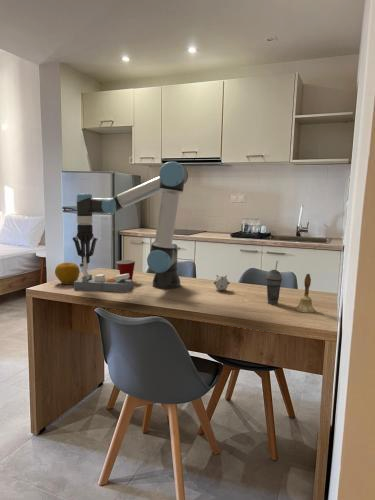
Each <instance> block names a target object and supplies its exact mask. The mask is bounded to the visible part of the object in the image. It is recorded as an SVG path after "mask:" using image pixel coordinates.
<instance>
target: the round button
mask: <svg viewBox="0 0 375 500" xmlns="http://www.w3.org/2000/svg"><path fill="white" fill-rule="evenodd" d="M106 279H107V282H115V276H114V277H113V276H110V277H107V278H106Z"/></svg>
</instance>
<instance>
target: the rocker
mask: <svg viewBox="0 0 375 500" xmlns="http://www.w3.org/2000/svg"><path fill="white" fill-rule="evenodd" d="M129 277H130V276H129V273H127V274H122V275H120V274H117V275H116V276H114V278H115V280H116V281H117V280H122V279H128V278H129Z"/></svg>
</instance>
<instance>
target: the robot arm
mask: <svg viewBox="0 0 375 500" xmlns="http://www.w3.org/2000/svg"><path fill="white" fill-rule="evenodd" d="M188 177H189V172H188V170H187V168H186V166H184V165H183V164H181V163H180V162H178V161H172V160H171V161H167V162H165V163H164V164H163V165H162V166H161V167H160V168H159V173H158V176H156V177H155V178H152V179H150V180H148V181H145V182H143V183H141V184H139V185H136V186H135V187H131V188H130V189H127V190H126V191H123V192H121V193H119V194H116V195H114V196H112V197H93V195H92V193H78V194H77V195H76V223H77V227H76V228H77V229H76V230H77V232H76V233H77V234H76V236H73V237H72V240H73V242H74V246H75V249H76V253H77V255H78V257H79V256H80V257H81V263H83V265H84V270H87V271H88V269H89V264H90V262H91V259H90V258H91V257H92V256H94V252H95V248H96V243H97V241H98V240H99V239H98V237H96V236H94V233H93V232H94V231H93V214H95V213H96V214H98V213H99V214H114V213H116V212H119V211H120V210H122V209H124V208H126V207H129V206H131V205H133V204H136V203H138V202H140V201H142V200H144V199H145V200H146V199H147V198H149V197H151V196H154V195H156V194H159V193H161V197H160V203H159V204H160V205H159V209H158V217H157V224H156V231H155V238H154V239H155V240H153V241H152V242H151V245H150V252H149V254H148V255H147V258H146V262H147V266H148V268H149V269H150V270H151V271H152V272H155V273H154V276H153V280H152V287H153V288H157V289H166V290H167V289H175V288H178V287H179V288H180V286H181V279H180V276H179V273H178V251H179V249H178V245H177V244H176V243H173V239H174V233H175V231H174V230H175V226H176V219H177V214H178V213H177V212H178V206H179V200H180V199H179V198H180V195H182V193H184V187H185V184H186V183H187V182H188V179H189V178H188ZM91 241H92V242H91ZM90 245H91V246H90Z"/></svg>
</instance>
